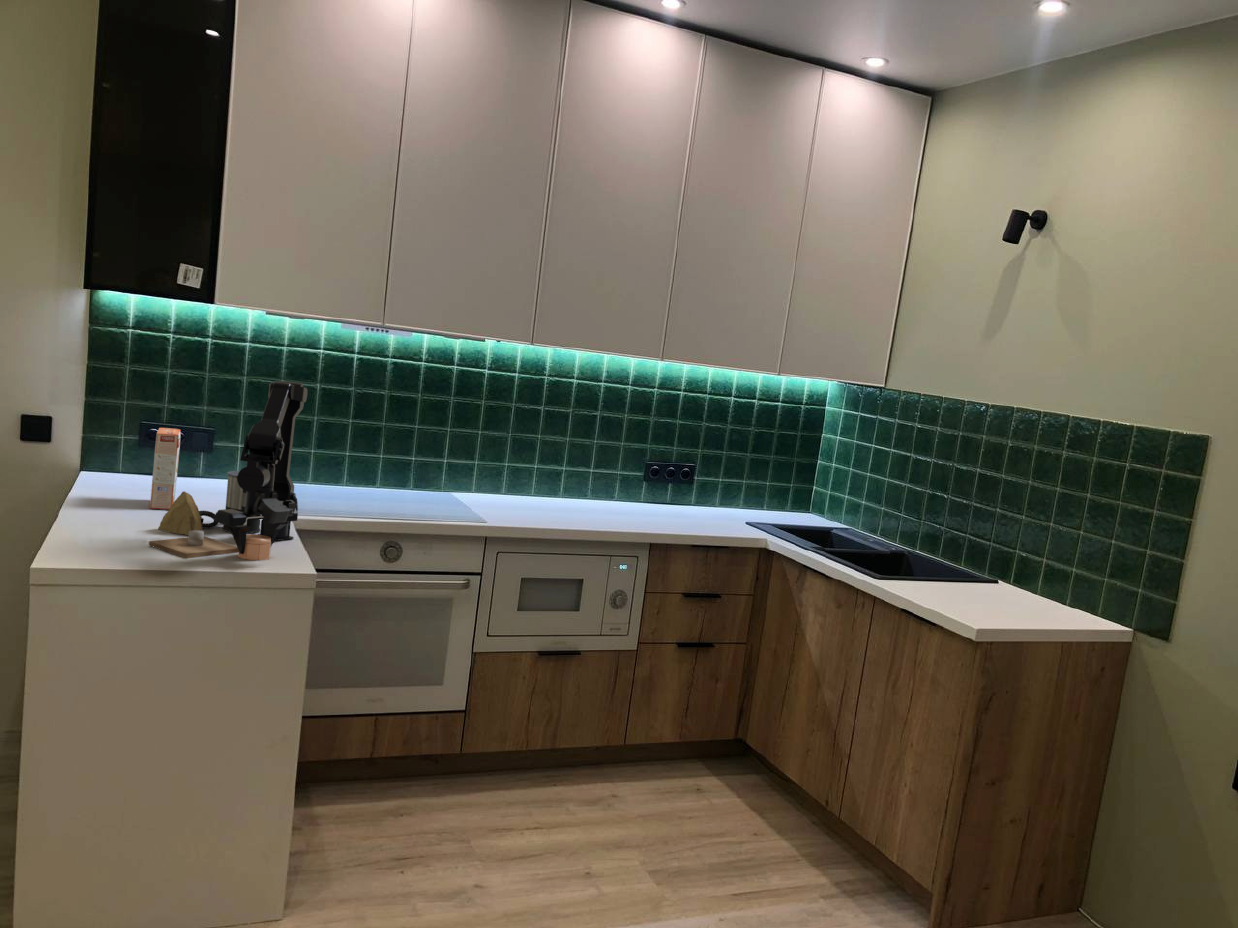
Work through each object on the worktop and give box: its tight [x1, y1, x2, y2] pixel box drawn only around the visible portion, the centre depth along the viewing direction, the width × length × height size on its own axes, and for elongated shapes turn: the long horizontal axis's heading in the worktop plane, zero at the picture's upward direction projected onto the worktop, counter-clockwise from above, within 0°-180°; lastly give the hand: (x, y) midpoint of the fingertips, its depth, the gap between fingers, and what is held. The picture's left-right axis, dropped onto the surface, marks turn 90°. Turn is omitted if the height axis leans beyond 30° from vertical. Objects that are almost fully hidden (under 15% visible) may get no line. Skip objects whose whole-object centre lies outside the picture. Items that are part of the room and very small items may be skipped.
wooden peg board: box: [148, 530, 239, 559], centre depth 229 cm, size 14×14×4 cm
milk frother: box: [199, 470, 261, 535], centre depth 253 cm, size 14×16×15 cm
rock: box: [157, 491, 203, 536], centre depth 243 cm, size 11×9×10 cm
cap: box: [237, 533, 272, 561], centre depth 229 cm, size 7×7×4 cm
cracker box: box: [149, 427, 181, 511], centre depth 273 cm, size 14×6×21 cm, turn 22°
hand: (254, 552), depth 229 cm, fingers closed on cap, 7 cm apart
